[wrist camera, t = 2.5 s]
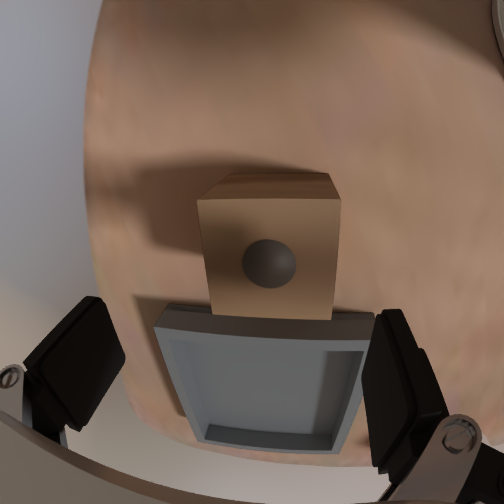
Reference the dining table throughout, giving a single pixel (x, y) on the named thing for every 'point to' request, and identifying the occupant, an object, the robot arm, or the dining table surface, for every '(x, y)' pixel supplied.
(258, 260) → the walnut block
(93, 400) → the robot arm
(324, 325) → the tray
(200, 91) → the dining table surface
